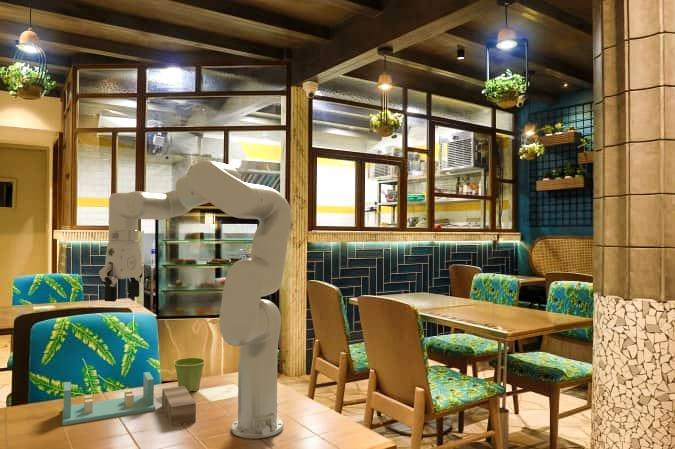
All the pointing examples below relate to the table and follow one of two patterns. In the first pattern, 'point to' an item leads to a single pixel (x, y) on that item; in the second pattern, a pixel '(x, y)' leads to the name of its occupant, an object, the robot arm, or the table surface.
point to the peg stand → (108, 404)
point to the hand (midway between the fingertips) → (122, 298)
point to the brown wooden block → (178, 405)
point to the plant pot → (189, 372)
